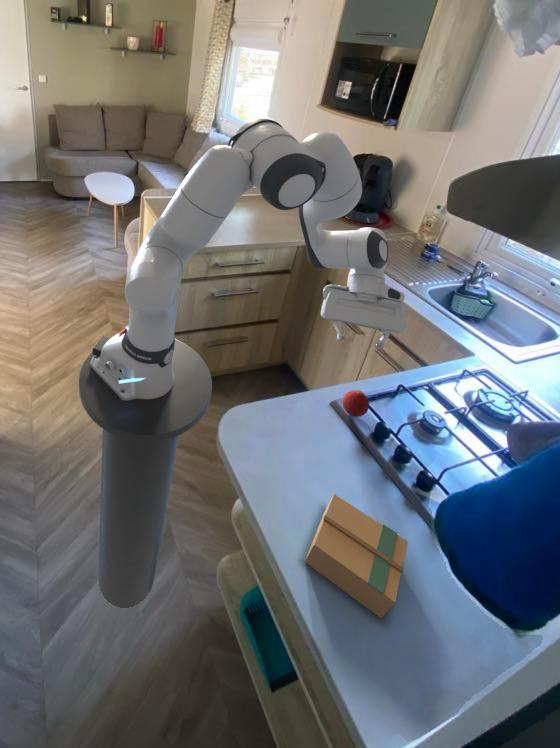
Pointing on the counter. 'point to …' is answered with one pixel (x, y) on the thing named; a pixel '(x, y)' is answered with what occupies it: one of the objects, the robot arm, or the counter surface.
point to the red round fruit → (355, 403)
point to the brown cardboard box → (358, 555)
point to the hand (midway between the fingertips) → (359, 343)
